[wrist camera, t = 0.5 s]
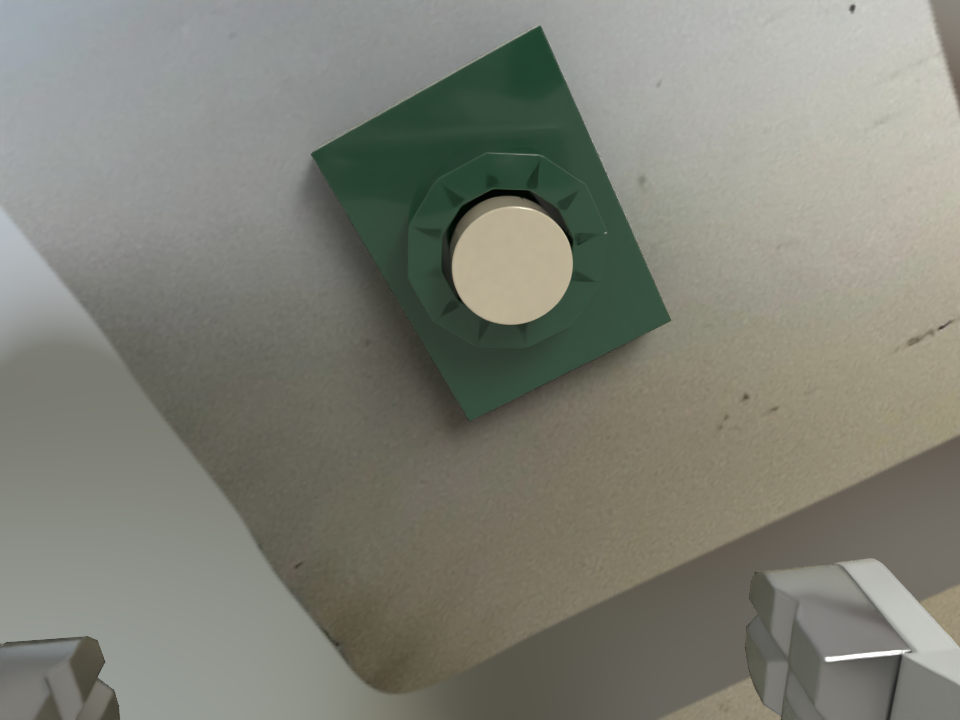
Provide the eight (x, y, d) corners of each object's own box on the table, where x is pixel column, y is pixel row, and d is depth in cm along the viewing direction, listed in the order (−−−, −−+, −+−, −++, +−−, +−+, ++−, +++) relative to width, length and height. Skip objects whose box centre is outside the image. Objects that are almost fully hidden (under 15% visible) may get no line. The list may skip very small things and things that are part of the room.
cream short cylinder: (428, 229, 26) (429, 243, 24) (532, 174, 26) (541, 183, 24) (481, 325, 28) (486, 345, 26) (580, 274, 27) (592, 291, 25)
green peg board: (317, 146, 28) (301, 160, 25) (532, 26, 27) (550, 22, 24) (466, 401, 33) (472, 445, 29) (657, 305, 32) (688, 338, 28)
